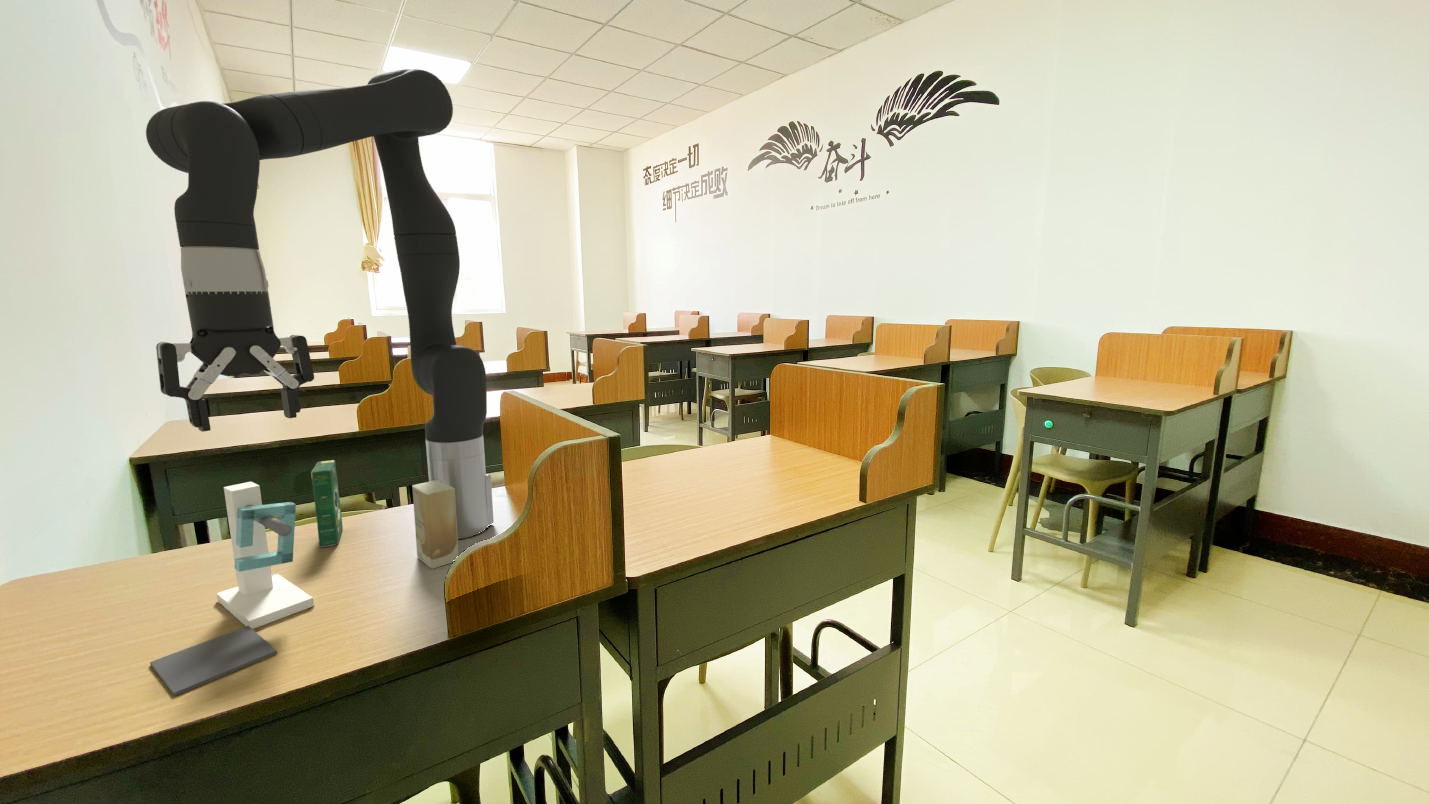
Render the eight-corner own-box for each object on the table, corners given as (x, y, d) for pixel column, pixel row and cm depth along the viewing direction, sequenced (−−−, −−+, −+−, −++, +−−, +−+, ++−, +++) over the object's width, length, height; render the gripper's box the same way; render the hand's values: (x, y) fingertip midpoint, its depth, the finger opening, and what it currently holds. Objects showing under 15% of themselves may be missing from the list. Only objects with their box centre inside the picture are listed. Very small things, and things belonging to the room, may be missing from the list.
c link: (287, 558, 76) (290, 501, 75) (292, 561, 75) (295, 504, 74) (234, 568, 71) (237, 507, 71) (239, 571, 70) (242, 510, 70)
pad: (248, 628, 72) (248, 625, 72) (277, 653, 67) (276, 650, 67) (150, 665, 64) (150, 661, 64) (174, 696, 59) (173, 692, 59)
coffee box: (324, 531, 102) (316, 460, 100) (343, 528, 103) (336, 458, 101) (318, 548, 95) (309, 472, 93) (338, 545, 96) (330, 469, 94)
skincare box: (416, 557, 92) (409, 484, 90) (443, 549, 95) (438, 478, 93) (432, 570, 88) (426, 493, 86) (460, 561, 91) (455, 487, 89)
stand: (278, 581, 84) (264, 476, 81) (328, 616, 75) (315, 498, 72) (217, 601, 78) (200, 488, 75) (264, 641, 69) (246, 515, 66)
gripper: (287, 289, 75) (305, 410, 78) (136, 289, 64) (163, 430, 67) (309, 288, 71) (327, 417, 74) (151, 288, 59) (179, 440, 62)
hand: (249, 423), depth 70 cm, fingers open, 8 cm apart
